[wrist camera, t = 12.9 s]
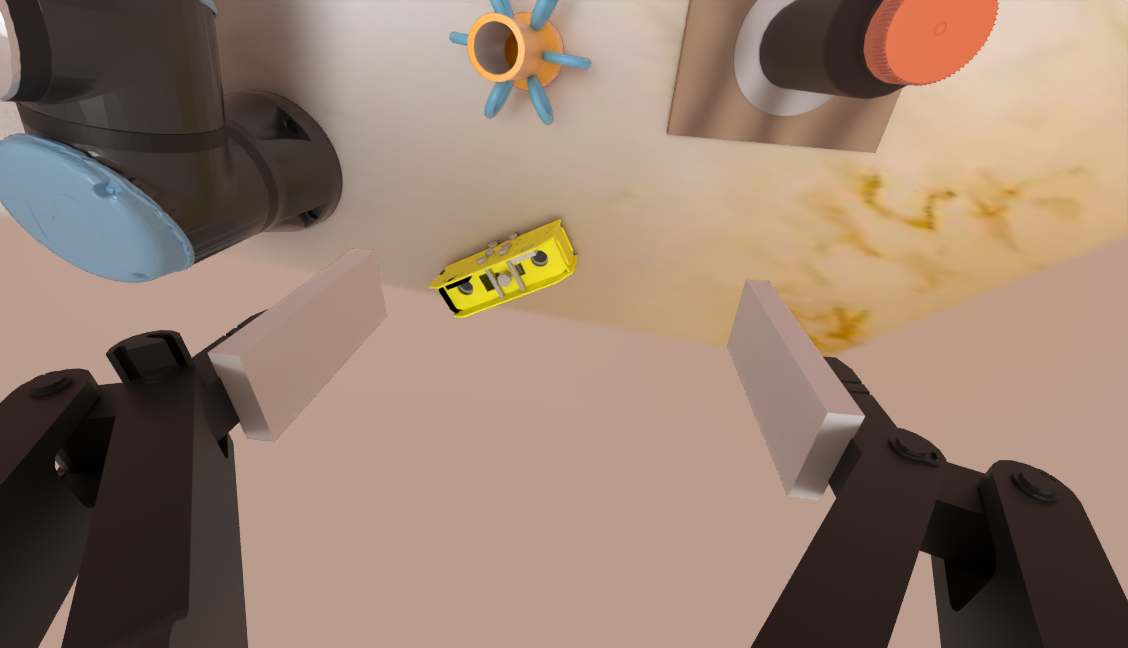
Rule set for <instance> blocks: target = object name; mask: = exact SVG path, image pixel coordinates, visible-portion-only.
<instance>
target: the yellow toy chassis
mask: <svg viewBox="0 0 1128 648" xmlns="http://www.w3.org/2000/svg"><path fill="white" fill-rule="evenodd" d="M561 221H562V219H558V220H556V221H554V222H551V223H549V224H546V225H544V226H542V227H539V228H537V229H534V230H532V231H530V232H527V233H525V234H522V235H520V236H518V235H517V233H516V232H515V233H512V234H510V235H509V236H508V239H509V240H508V241H506V242H503V243H501V244H498V243H497V241H493V242H491V243H489V244H488V246H489V249H486V250H484V251H482V252H479V253H477V254H474V255H472V256H470V257H467V258H465V259H462V260H460V261H458V262H455V263H453V264H450V265H448V266H446V267H445V269H444V270H443V271H442V272H441V273H440V274H439V275H438V277H437V278H436V279H435V280H434V281H433V282H432V283H431V285H430V286H429V288H432V289H439V292H440V294H441V295H442V297H443V298H444V300H445V302H446V303H447V305H448V306H449V308H450V309H451V310H452V311H453V312H454V313H455V314H454V315H453V316H454V317H462V318H464V317H466V316H469V315H472V314H475V313H477V312H480V311H483V310H486V309H488V308H491V307H494V306H496V305H499V304H502V303H505V302H507V301H510V300H513V299H515V298H518V297H521V296H524V295H526V294H529V293H532V292H534V291H537V290H540V289H543V288H545V287H548V286H551V285H553V284H556V283H558V282H560V281H561V280H563V279H565V278H566V277H568V276H569V275H571V274H572V273H574V271H575V267H576V263H577V258H578V254H576V255H573V248H572V246H571V243H570V241H569V239H568V237H567V235H566V233H565V230H564V228H563V227H561V226H560V224H561ZM517 236H518V237H517ZM497 272H498V273H499V276H496V275H495V273H497Z"/></svg>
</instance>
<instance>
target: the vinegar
mask: <svg viewBox="0 0 1128 648" xmlns="http://www.w3.org/2000/svg"><path fill="white" fill-rule="evenodd" d="M998 4H999V3H998V2H997V0H795V1H794V2H792V3H791V4H789V5H787V6H786V7H784V8H782V9H781V10H780V11H779V13H778V14H777V15H776V16H775V17H774V18H773V19H772V20H771V21H770V23H769V25H768V27H767V29H766V30H765V32H764V34H763V37H762V41H761V45H760V48H759V50H760V65H761V68H762V71H763V74H764V75H765V76H766V78H767V79H768V80H769V81H770V82H771V83H772V84H774V85H776V86H778V87H780V88H784V89H792V90H799V91H806V92H814V93H821V94H828V95H836V96H843V97H850V98H859V99H872V98H877V97H882V96H886V95H889V94H891V93H893V92H895V91H897V90H899V89H901V88H903V87H905V86H907V85H916V86H917V85H921V86H922V85H927V84H931V83H936V81H941V79H946V77H950V76H951V74H955V72H956V71H960V68H961V67H964V65H965V64H966V63H969V61H970V60H971V59H973V57H974V56H975V55H977V52H978V51H979V50H981V49H980V48H981V47H982V46H984V43H985V42H986V41H987V38H988V36H990V32H991V31H992V30H993V29H992V28H993V26H994V25H995V24H994V22H995V20H996V19H995V18H996V15H997V14H998V13H997V10H998V9H999V8H998ZM996 13H997V14H996Z"/></svg>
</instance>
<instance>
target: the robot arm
mask: <svg viewBox="0 0 1128 648" xmlns="http://www.w3.org/2000/svg"><path fill="white" fill-rule="evenodd" d="M214 16H218V12H217V8H216V6H215V5H214V3H213V1H212V0H0V101H12V102H15V103H16V105H17V108H18V111H19V114H20V117H21V121H22V124H23V126H24V130H25V134H14V135H10V136H8V137H5V138H4V139H3V140H1V141H0V201H1V203H2V204H3V205H4V207H5V208H6V209H7V211H8V212H9V213H10V214H11V216H12V217H13V218H14V219H15V220H16V221H17V222H18V223H19V224H20V225H21V226H22V227H23V228H24V229H25V230H26V231H27V232H28V233H29V234H30V235H31V236H32V237H33V238H35V239H36V240H37V241H38V242H40V243H41V244H43V245H44V246H45V247H47V248H48V249H49V250H50V251H52V252H53V253H54V254H56V255H57V256H59V257H61V258H62V259H64V260H65V261H67V262H69V263H70V264H72V265H74V266H76V267H78V268H80V269H82V270H84V271H86V272H89V273H91V274H94V275H96V276H99V277H102V278H106V279H110V280H113V281H119V282H128V283H139V282H146V281H151V280H154V279H156V278H159V277H161V276H164V275H167V274H170V273H173V272H176V271H183V270H186V269H187V268H189V267H191V265H193V264H195V263H198V262H200V261H202V260H204V259H206V258H208V257H210V256H212V255H214V254H216V253H218V252H220V251H222V250H225V249H227V248H229V247H231V246H233V245H235V244H237V243H239V242H241V241H243V240H245V239H247V238H249V237H252V236H254V235H256V234H258V233H260V232H290V231H299V230H303V229H307V228H309V227H311V226H313V225H315V224H317V223H319V222H321V221H323V220H325V219H326V218H327V217H328V216H329V215H330V214H331V213H332V212H333V211H334V209H335V208H336V206H337V204H338V201H339V198H340V194H341V186H342V179H341V171H340V166H339V162H338V159H337V156H336V154H335V151H334V149H333V147H332V145H331V143H330V141H329V139H328V138H327V136H326V135H325V133H324V132H323V130H322V129H321V128H320V127H319V125H318V124H317V123H316V122H315V121H314V120H313V119H312V118H311V117H310V116H309V115H308V114H307V113H306V112H305V111H304V110H302V109H301V108H300V107H298V106H297V105H296V104H294V103H292V102H291V101H289V100H287V99H285V98H283V97H281V96H278V95H276V94H272V93H269V92H263V91H245V92H235V93H230V94H227V95H224V96H223V89H222V80H221V71H220V63H219V54H218V45H217V36H216V27H215V19H214ZM386 317H387V314H386V309H385V304H384V298H383V294H382V288H381V283H380V278H379V273H378V268H377V262H376V257H375V252H374V250H369V249H357V248H353V249H352V250H350V251H349V252H348V253H346V254H345V255H343V256H342V257H341V258H339V259H338V260H336V261H335V262H334V263H332V264H331V265H329V266H328V267H327V268H325V269H324V270H322V271H321V272H320V273H318V274H317V275H316V276H314V277H313V278H311V279H310V280H309V281H307V282H306V283H304V284H303V285H302V286H300V287H299V288H297V289H296V290H295V291H293V292H292V293H290V294H289V295H288V296H286V297H285V298H284V299H282V300H281V301H279V302H278V303H276V304H275V305H274V306H272V307H271V308H269V309H267V310H265V311H262V312H260V313H258V314H255V315H253V316H251V317H249V318H248V319H246V320H245V321H244V322H242V323H241V324H239V325H238V326H237V328H234V329H232V330H231V331H230V332H228V333H226V336H222V337H221V338H219V339H218V340H216V341H215V342H214V343H212V344H211V345H209V346H208V347H207V348H205V349H204V350H202V351H201V352H199V353H198V354H196V355H195V356H194V357H192V358H191V356H190V353H189V351H188V350H187V347H186V345H185V344H184V341H183V339H182V337H181V336H180V333H178V332H175V331H170V330H159V331H152V332H147V333H143V334H140V335H136V336H132V337H130V338H128V339H125V340H123V341H121V342H119V343H118V344H116V345H114V346H113V347H111V348H110V349H109V350H108V352H107V353H106V356H107V357H108V359H109V361H110V362H111V364H112V366H113V367H114V369H115V371H116V372H117V374H118V375H119V377H120V379H121V380H122V382H123V383H115V384H105V385H98V384H97V382H96V381H95V379H94V378H93V376H92V375H91V373H90V372H89V371H88V370H84V369H66V370H61V371H53V372H49V373H46V375H40V376H37V377H35V378H34V379H33V380H31V381H29V382H26V383H25V384H23V385H21V386H19V387H18V388H17V389H15V390H14V391H12V392H11V393H10V394H9V395H8V396H7V397H6V398H5V399H4V400H3V401H2V402H1V403H0V648H38V647H39V645H40V643H41V641H42V640H43V638H44V636H45V634H46V632H47V630H48V629H49V627H50V625H51V623H52V621H53V620H54V617H55V616H56V614H57V612H58V610H59V609H60V607H61V605H62V603H63V601H64V600H65V598H66V596H67V594H68V592H69V590H70V589H71V587H72V585H73V583H74V581H75V579H76V577H77V576H78V579H77V583H76V587H75V592H74V596H73V600H72V605H71V609H70V613H69V617H68V621H67V626H66V630H65V634H64V638H63V643H62V647H61V648H248V641H247V626H246V613H245V598H244V586H243V571H242V558H241V545H240V544H241V543H240V529H239V516H238V501H237V490H236V488H237V487H236V474H235V460H234V446H233V441H232V439H231V437H230V435H229V433H228V432H229V431H230V430H231V429H233V427H235V425H237V424H238V423H239V422H240V424H241V427H242V429H243V431H244V433H245V435H246V437H247V439H254V440H263V441H272V442H275V441H276V440H277V438H279V437H280V435H281V434H282V433H283V432H284V431H285V430H286V429H287V428H288V426H289V425H290V424H291V423H292V422H293V421H294V420H295V419H296V418H297V416H298V415H299V414H300V413H301V412H302V411H303V409H305V407H306V406H307V405H308V404H309V403H310V402H311V401H312V400H313V398H314V397H315V396H316V395H317V394H318V393H319V392H320V391H321V389H322V388H323V387H324V386H325V385H326V384H327V383H328V382H329V380H330V379H331V378H332V377H333V376H334V375H335V374H336V373H337V371H338V370H339V369H340V368H341V367H342V366H343V365H344V364H345V363H346V361H347V360H348V359H349V358H350V357H351V356H352V355H353V353H354V352H355V351H356V350H357V349H358V348H359V347H360V346H361V345H362V343H363V342H364V341H365V340H366V339H367V338H368V337H369V336H370V334H371V333H372V332H373V331H374V330H375V329H376V328H377V327H378V326H379V324H380V323H381V322H382V321H383V320H384V319H385V318H386ZM727 348H728V350H729V352H730V355H731V357H732V360H733V362H734V365H735V367H736V370H737V372H738V375H739V377H740V380H741V382H742V385H743V387H744V390H745V392H746V395H747V397H748V400H749V402H750V405H751V407H752V410H753V412H754V415H755V417H756V420H757V422H758V425H759V427H760V430H761V432H762V435H763V437H764V440H765V442H766V445H767V447H768V450H769V452H770V455H771V457H772V460H773V462H774V465H775V467H776V470H777V472H778V475H779V477H780V480H781V482H782V485H783V487H784V490H785V492H786V495H787V497H791V498H801V499H810V500H819V501H820V499H821V497H822V496H823V494H824V492H825V490H826V488H827V486H828V484H829V485H830V487H831V489H832V490H833V492H834V494H835V496H836V500H835V502H834V503H833V505H832V507H831V509H830V510H829V512H828V514H827V515H826V517H825V519H824V521H823V522H822V524H821V526H820V528H819V530H818V531H817V533H816V535H815V536H814V538H813V540H812V542H811V543H810V545H809V547H808V549H807V550H806V552H805V554H804V556H803V557H802V559H801V561H800V563H799V564H798V566H797V568H796V570H795V571H794V573H793V575H792V576H791V578H790V580H789V582H788V584H787V585H786V587H785V589H784V590H783V592H782V594H781V596H780V597H779V599H778V601H777V603H776V604H775V606H774V608H773V609H772V611H771V613H770V615H769V617H768V618H767V620H766V622H765V623H764V625H763V627H762V629H761V630H760V632H759V634H758V636H757V637H756V639H755V641H754V643H753V644H752V646H751V648H887V647H888V644H889V640H890V638H891V635H892V632H893V628H894V625H895V623H896V619H897V616H898V613H899V610H900V607H901V604H902V601H903V598H904V595H905V592H906V589H907V586H908V583H909V580H910V577H911V574H912V571H913V568H914V565H915V562H916V559H917V556H918V553H919V550H920V551H923V552H925V553H928V554H931V560H932V569H933V577H934V587H935V595H936V605H937V614H938V622H939V631H940V640H941V648H1128V600H1127V598H1126V596H1125V594H1124V592H1123V590H1122V588H1121V585H1120V583H1119V581H1118V579H1117V577H1116V575H1115V573H1114V571H1113V569H1112V567H1111V565H1110V562H1109V560H1108V558H1107V556H1106V554H1105V552H1104V550H1103V548H1102V546H1101V544H1100V541H1099V539H1098V537H1097V535H1096V533H1095V531H1094V529H1093V527H1092V525H1091V523H1090V521H1089V518H1088V517H1087V514H1086V512H1085V510H1084V508H1083V506H1082V504H1081V502H1080V501H1079V499H1078V498H1077V497H1076V495H1075V494H1074V493H1073V492H1072V491H1071V490H1070V489H1069V488H1068V487H1066V486H1065V485H1064V484H1063V483H1062V482H1060V481H1059V480H1058V479H1056V478H1055V477H1053V476H1052V475H1049V474H1048V473H1046V472H1044V471H1042V470H1040V469H1037V468H1034V467H1032V466H1030V465H1027V464H1024V463H1020V462H1016V461H1012V460H999V461H998V462H996V463H994V464H993V465H992V466H991V467H990V468H989V470H988V471H987V472H986V473H985V474H984V473H981V472H978V471H975V470H971V469H968V468H965V467H961V466H958V465H955V464H952V463H948V462H946V458H945V457H944V455H943V454H942V453H941V451H940V450H939V449H938V448H937V447H935V446H934V445H933V444H932V443H931V442H929V441H928V440H926V439H925V438H923V437H921V436H919V435H917V434H916V433H913V432H910V431H907V430H905V429H901V428H897V427H896V425H895V424H894V423H893V421H892V420H891V419H890V418H889V416H888V415H887V414H886V412H885V411H884V410H883V409H882V407H881V406H880V405H879V404H878V402H877V401H876V400H875V398H874V397H873V396H872V395H870V392H869V391H868V389H867V388H866V387H865V385H863V384H862V382H861V380H860V379H859V378H858V377H857V375H856V374H855V373H854V371H853V370H852V369H851V368H849V367H848V366H847V365H845V364H844V363H842V362H841V361H840V360H838V359H837V358H834V357H823V356H822V355H821V353H820V352H819V351H818V349H817V348H816V346H815V345H814V344H813V342H812V341H811V339H810V338H809V337H808V335H807V334H806V332H805V331H804V330H803V328H802V327H801V325H800V324H799V323H798V321H797V320H796V318H795V317H794V316H793V314H792V313H791V311H790V310H789V308H788V307H787V306H786V304H785V303H784V301H783V300H782V299H781V297H780V296H779V294H778V293H777V292H776V290H775V289H774V287H773V286H772V285H771V283H770V282H769V281H761V280H748V279H746V281H745V285H744V288H743V292H742V295H741V299H740V302H739V306H738V309H737V313H736V316H735V320H734V323H733V327H732V330H731V334H730V337H729V341H728V344H727ZM55 461H56V462H57V463H58V464H59V466H60V467H59V468H58V470H57V471H56V469H55ZM78 574H79V575H78Z"/></svg>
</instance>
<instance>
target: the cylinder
mask: <svg viewBox="0 0 1128 648" xmlns="http://www.w3.org/2000/svg"><path fill="white" fill-rule="evenodd" d="M490 2H491V4H492V6H493V8H494V10H495V12H496V13H489V14H485V15H483V16H481V17H480V18H479V19H478V20H477V21H476V22H475V23H474V24H473V26H472V28H471V30H470V32H469V35H467V34H462V33H457V32H451V33H450V35H449V38H450V40H451V42H453V43H457V44H461V45H466V46H468V54H469V57H470V60H471V63H472V65H473V66H474V68H475V69H476V71H477V72H478V73H479V74H480V75H481V76H483V77H484V78H486V79H488V80H490V81H494V82H497V84H496V85H495V87H494V89H493V90H492V92H491V94H490V96H489V98H488V100H487V103H486V106H485V110H484V113H485V116H486V117H487V118H489V119H491V118H493V117H494V116H495V115H496V114H497V113H498V112H499V111H500V109H501V108H502V106H503V105H504V103H505V101H506V99H507V97H508V96H509V93H510V91H511V89H512V86H514V87H516V88H519V89H523V90H528V91H529V94H530V97H531V100H532V102H533V105H534V107H535V109H536V111H537V113H538V115H539V117H540V118H541V120H542V121H543V122H544V123H545V124H547V125H550V124H551V123H552V122H553V113H552V109H551V105H550V102H549V100H548V97H547V95H546V92H545V90H544V88H543V87H544V86H546V85H548V84H550V83H551V82H552V81H553V80H554V79H555V78H556V77H557V75H558V74H559V72H560V70H561V67H562V65H566V66H571V67H576V68H581V69H589V68H590V67H591V61H590V60H589V59H586V58H581V57H576V56H571V55H566V54H564V48H563V43H562V39H561V37H560V35H559V33H558V31H557V30H556V28H555V27H554V26H553V25H552V24H551V23H550V22H549V21H547V20H548V19H549V17H550V15H551V14H552V12H553V10H554V8H555V6H556V4H557V2H558V0H538V1H537V3H536V5H535V8H534V10H533V13H528V12H522V13H517V14H514V15H513V11H512V8H511V5H510V3H509V0H490Z"/></svg>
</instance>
